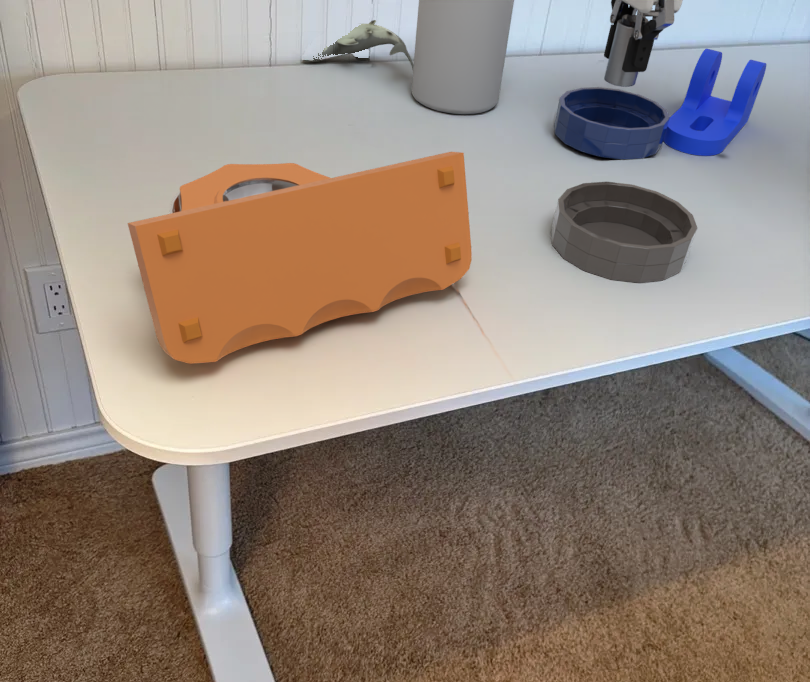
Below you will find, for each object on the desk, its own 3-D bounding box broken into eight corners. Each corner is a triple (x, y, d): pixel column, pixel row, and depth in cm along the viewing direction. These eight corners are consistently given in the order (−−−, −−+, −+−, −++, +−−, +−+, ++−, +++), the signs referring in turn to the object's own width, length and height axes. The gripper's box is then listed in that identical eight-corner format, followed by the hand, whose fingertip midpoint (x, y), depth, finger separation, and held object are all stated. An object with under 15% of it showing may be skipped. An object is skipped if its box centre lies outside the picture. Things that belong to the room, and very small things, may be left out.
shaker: (625, 75, 108) (641, 13, 103) (640, 86, 105) (658, 23, 100) (598, 75, 107) (613, 13, 102) (613, 87, 104) (629, 23, 99)
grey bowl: (641, 214, 96) (651, 178, 93) (709, 280, 86) (723, 241, 83) (529, 223, 92) (536, 186, 89) (587, 293, 82) (597, 253, 79)
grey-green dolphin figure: (296, 75, 118) (312, 117, 125) (409, 49, 116) (420, 93, 122) (297, 15, 126) (312, 57, 132) (404, -11, 123) (414, 34, 130)
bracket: (692, 106, 124) (712, 43, 118) (747, 121, 121) (770, 57, 115) (653, 143, 112) (673, 75, 106) (713, 161, 109) (737, 92, 103)
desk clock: (466, 146, 73) (351, 137, 89) (135, 219, 59) (68, 193, 75) (477, 280, 78) (366, 250, 94) (175, 376, 64) (104, 322, 80)
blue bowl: (626, 117, 118) (635, 85, 115) (679, 160, 108) (689, 127, 105) (536, 121, 114) (542, 88, 111) (582, 166, 104) (590, 131, 101)
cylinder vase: (393, 92, 118) (407, -112, 102) (457, 77, 125) (480, -117, 108) (451, 123, 111) (476, -91, 95) (516, 106, 118) (550, -97, 101)
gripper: (737, -85, 88) (684, 88, 100) (657, -117, 100) (618, 41, 112) (677, -87, 86) (630, 90, 98) (602, -120, 97) (568, 42, 110)
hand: (624, 62), depth 105 cm, fingers closed on shaker, 4 cm apart
